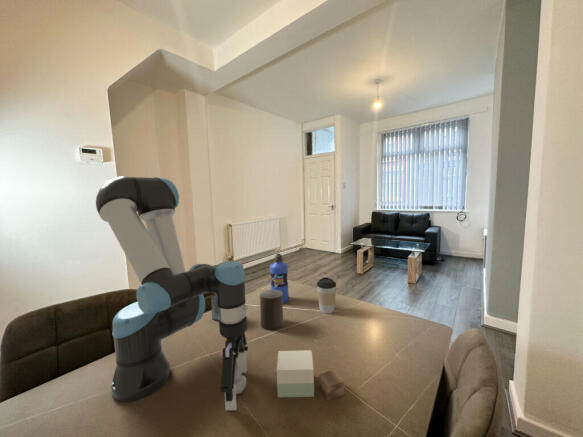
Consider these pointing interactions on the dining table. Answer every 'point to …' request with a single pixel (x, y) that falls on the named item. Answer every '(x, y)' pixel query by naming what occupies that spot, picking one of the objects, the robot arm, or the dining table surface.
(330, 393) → the brick
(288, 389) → the cream and green box
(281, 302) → the pillar candle
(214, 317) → the small box
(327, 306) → the coffee cup
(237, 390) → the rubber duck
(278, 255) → the blue plastic bottle
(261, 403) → the dining table surface
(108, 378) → the dining table surface
